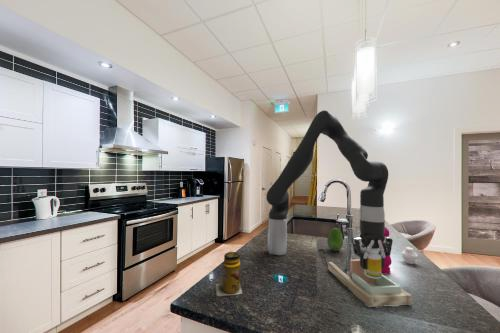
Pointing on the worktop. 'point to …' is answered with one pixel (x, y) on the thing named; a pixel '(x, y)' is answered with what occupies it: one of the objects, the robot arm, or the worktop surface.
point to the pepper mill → (387, 258)
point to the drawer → (372, 281)
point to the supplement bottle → (373, 264)
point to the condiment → (230, 276)
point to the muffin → (409, 255)
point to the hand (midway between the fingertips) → (372, 268)
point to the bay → (368, 298)
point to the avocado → (335, 239)
